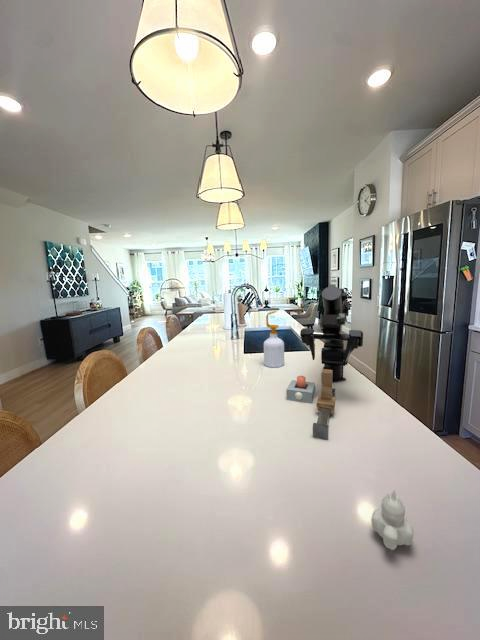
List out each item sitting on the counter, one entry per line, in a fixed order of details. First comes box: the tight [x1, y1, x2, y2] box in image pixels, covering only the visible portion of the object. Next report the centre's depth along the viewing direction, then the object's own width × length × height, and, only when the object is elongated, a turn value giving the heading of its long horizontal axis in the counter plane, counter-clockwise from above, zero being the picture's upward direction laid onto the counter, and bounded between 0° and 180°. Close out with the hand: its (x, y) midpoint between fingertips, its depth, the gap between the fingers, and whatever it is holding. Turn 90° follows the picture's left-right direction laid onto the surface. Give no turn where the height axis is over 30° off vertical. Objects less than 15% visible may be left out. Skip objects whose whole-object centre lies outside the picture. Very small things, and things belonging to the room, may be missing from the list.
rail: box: [312, 387, 336, 441], centre depth 76 cm, size 24×4×3 cm, turn 156°
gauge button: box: [296, 375, 307, 389], centre depth 88 cm, size 3×3×4 cm
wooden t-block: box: [315, 368, 337, 415], centre depth 77 cm, size 5×5×11 cm
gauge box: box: [285, 379, 316, 404], centre depth 88 cm, size 8×8×4 cm
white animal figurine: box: [371, 489, 414, 551], centre depth 40 cm, size 5×7×8 cm
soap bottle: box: [263, 309, 285, 368], centre depth 118 cm, size 9×9×25 cm
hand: (328, 360), depth 81 cm, fingers open, 9 cm apart
